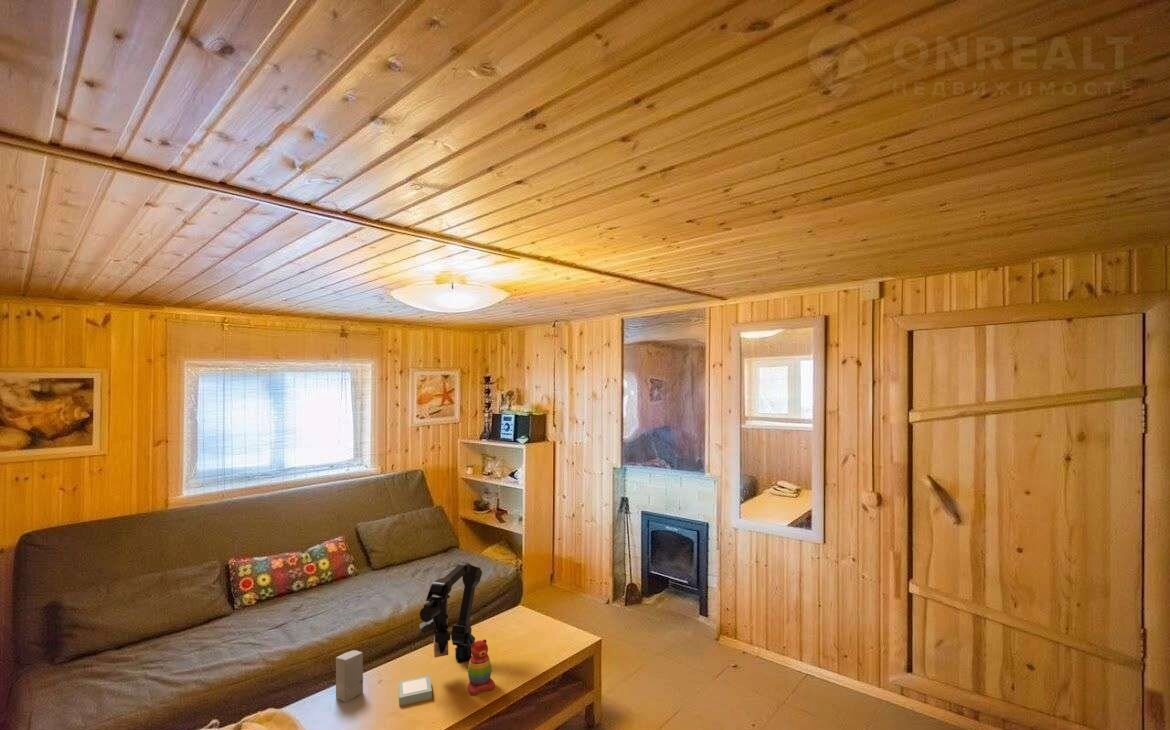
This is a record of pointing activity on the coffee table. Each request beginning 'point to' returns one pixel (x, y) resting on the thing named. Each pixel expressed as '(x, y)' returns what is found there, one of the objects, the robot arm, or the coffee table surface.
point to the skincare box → (349, 675)
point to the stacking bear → (479, 669)
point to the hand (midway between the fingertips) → (441, 650)
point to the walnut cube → (437, 651)
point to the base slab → (415, 690)
